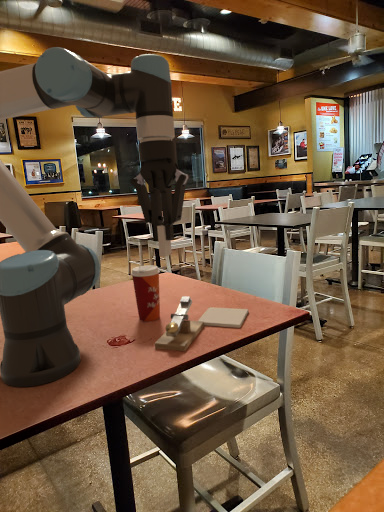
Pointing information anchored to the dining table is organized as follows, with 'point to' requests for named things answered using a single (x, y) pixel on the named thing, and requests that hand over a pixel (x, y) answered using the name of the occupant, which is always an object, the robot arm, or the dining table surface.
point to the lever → (179, 317)
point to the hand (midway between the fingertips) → (165, 255)
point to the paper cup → (147, 292)
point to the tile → (224, 317)
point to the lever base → (180, 336)
